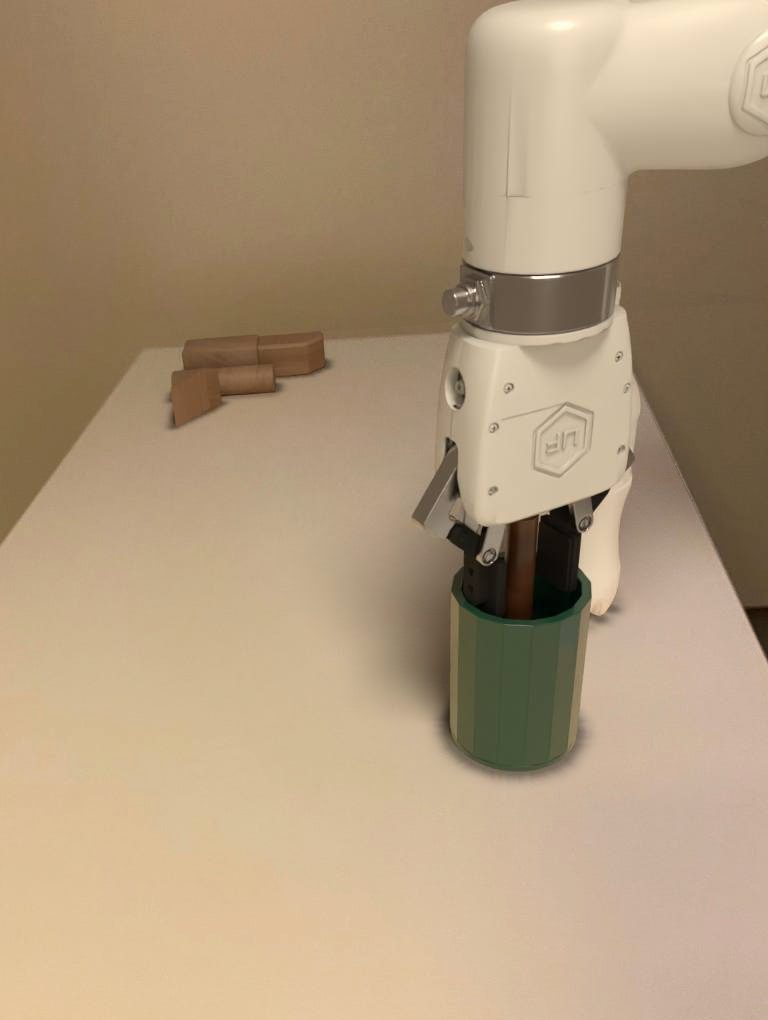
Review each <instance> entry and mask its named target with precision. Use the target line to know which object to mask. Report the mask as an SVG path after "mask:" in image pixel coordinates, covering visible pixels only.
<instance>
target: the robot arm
mask: <svg viewBox="0 0 768 1020" xmlns="http://www.w3.org/2000/svg"><path fill="white" fill-rule="evenodd" d="M462 149H463V150H462V151H463V153H462V154H463V157H462V160H463V161H462V162H463V165H462V231H461V232H462V236H461V237H462V240H461V241H462V245H461V248H462V249H461V264H460V265H459V283H458V284H456V285H455V287H452V288H449V289H446V290H444V291H443V293H442V296H441V306H442V309H443V312H444V314H445V315H446V317H447V318H449V319H453V318H456V317H459V318H460V321H459V322H457V323H455V324H453V325H452V326H451V329H450V333H449V337H448V341H447V346H446V350H445V356H444V360H443V366H442V372H441V378H440V380H441V381H440V385H439V394H438V403H437V413H436V428H435V443H434V444H435V445H434V447H435V448H434V472H435V473H434V476H433V477H432V479H431V480H430V483H429V485H428V486H427V487H426V489H425V491H424V493H423V495H422V497H421V498H420V500H419V502H418V504H417V505H416V507H415V509H414V511H413V513H412V515H411V522H412V524H413V525H415V526H416V527H417V528H418V529H420V530H421V531H423V532H424V533H425V534H427V535H429V536H432V537H434V538H436V539H439V540H442V541H446V542H449V543H451V544H452V545H454V546H455V547H456V548H458V549H460V550H461V551H462V552H463V563H462V564H463V566H462V567H463V591H464V595H465V597H466V599H467V600H468V601H469V602H470V603H471V604H473V605H475V606H476V607H477V608H478V609H479V610H481V611H482V612H484V613H487V614H490V615H494V616H497V617H500V618H502V617H503V615H504V614H505V595H506V573H507V565H506V562H505V561H504V560H503V559H501V558H500V557H499V556H498V555H499V552H501V551H500V550H501V547H502V543H503V539H504V535H505V532H506V524H510V523H513V522H516V521H519V520H522V519H525V518H529V517H532V516H535V515H538V514H541V513H544V512H547V511H549V515H548V514H545V515H542V516H540V522H539V525H538V540H537V555H536V572H537V574H538V575H539V576H541V577H542V578H544V579H545V580H546V581H548V582H549V583H550V584H552V585H553V586H554V587H556V588H557V589H558V590H560V591H561V592H563V593H565V594H569V593H571V592H574V591H576V587H577V577H578V567H579V557H580V547H581V537H582V533H584V532H587V531H588V530H589V529H590V528H591V526H592V525H593V522H594V518H593V512H594V511H595V510H596V508H597V507H598V506H599V505H600V503H601V502H602V501H603V500H604V498H605V497H606V496H607V494H608V493H609V491H610V488H611V487H613V486H614V485H615V484H617V483H618V482H619V481H620V480H621V479H622V477H623V475H624V473H625V472H626V471H627V470H628V469H629V468H630V467H631V465H632V466H633V464H634V462H635V460H636V457H635V453H634V452H632V451H631V449H630V447H629V443H630V431H631V414H632V373H633V357H632V356H633V354H632V344H631V335H630V327H629V322H628V315H627V311H626V309H625V308H624V307H623V306H621V305H620V304H619V305H617V304H615V299H616V290H617V281H619V280H618V278H619V268H620V259H621V249H622V241H623V230H624V222H625V211H626V203H627V202H626V201H627V193H628V183H629V176H630V175H631V174H633V173H634V172H638V171H647V170H648V171H649V170H650V171H651V170H689V171H692V170H695V171H700V170H701V171H712V170H727V169H732V168H733V169H734V168H738V167H741V166H745V165H749V164H752V163H755V162H758V161H761V160H762V159H765V158H767V157H768V0H513V1H509V2H506V3H502V4H498V5H495V6H493V7H491V8H489V9H487V10H485V11H483V12H482V13H481V14H480V15H479V16H478V17H477V19H475V21H474V22H473V24H472V26H471V27H470V29H469V32H468V34H467V37H466V41H465V48H464V65H463V148H462ZM458 499H461V505H460V510H459V514H458V518H456V517H455V516H453V515H451V511H452V509H453V507H454V505H455V503H456V502H457V501H458ZM480 526H481V530H480V534H479V533H478V532H479V528H480Z"/></svg>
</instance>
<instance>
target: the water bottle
mask: <svg viewBox="0 0 768 1020" xmlns="http://www.w3.org/2000/svg"><path fill="white" fill-rule="evenodd" d="M621 293H622V283H621V282H620V281H619V280H617V290H616V299H615V304H617V305H619V306H620V300H621ZM633 373H634V372H632V414H631V431H630V443H629V447H630V449H631V451H632V452H633V453H634V452H635V443H636V437H637V436H636V435H637V426H638V419H639V417H640V416H641V410H642V409H641V404H642V403H641V395H640V390H639V387H638V383H637V381H636V378H635V376H634V374H633ZM632 467H633V464H632V465H631V467H630V468H629V469H628V470H627V471H626V472H625V473H624V475H623V477H622V479H621V480H620V481H619V482H618V483H617V484H615V485H614V486H613V487H611V488H610V491H609V493H608V494H607V496H606V497H605V498H604V500H603V501H602V502H601V503H600V505H599V506H598V507H597V508H596V510H595V511H594V512H593V518H594V522H593V525H592V526H591V528H590V529H589V530H588V531H587V532H584V533H582V537H581V547H580V557H579V568H580V569H581V570H582V571H583V573H584V574H585V575H586V576H587V578H588V579H589V580H590V581H591V589H592V600H591V609H590V614H592V615H595V616H597V617H600V616H602V615H604V614H605V613H606V612H607V611H608V610H609V608H610V607H611V605H612V604H613V602H614V600H615V597H616V595H617V593H618V592H617V591H618V588H619V584H620V579H621V570H622V564H621V560H620V559H621V558H620V549H619V536H620V535H619V534H620V526H621V525H620V524H621V519H622V514H623V510H624V506H625V503H626V500H627V497H628V494H629V492H630V489H631V487H632V483H633V472H632ZM545 514H548V515H549V511H547V512H544V513H541V514H539V520H538V525H539V522H540V516H542V515H545ZM537 540H538V535H537ZM536 552H537V550H536Z"/></svg>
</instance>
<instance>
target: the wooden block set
mask: <svg viewBox="0 0 768 1020" xmlns="http://www.w3.org/2000/svg"><path fill="white" fill-rule="evenodd" d="M324 339H325V338H324V333H323V332H322V331H309V332H308V331H307V332H294V333H281V334H269V335H268V334H267V335H259V334H245V335H231V336H219V337H217V336H216V337H206V338H204V337H203V338H192V339H187V340H185V342H184V346H183V349H182V352H181V356H182V357H181V359H182V364H183V370H174V371H172V373H171V378H170V379H171V387H170V397H171V404H172V411H173V416H174V422H175V427H178V426H181V425H182V424H183V425H184V424H185V423H188V422H189V421H191V420H193V419H196V418H198V417H200V416H201V415H203V414H206V413H208V412H210V411H212V410H214V409H216V408H218V407H219V406H221V405H222V404H223V403H222V397H223V396H234V395H248V394H261V393H263V394H264V393H274V392H275V391H276V390H277V389H276V388H277V381H276V379H277V378H278V377H280V378H281V377H290V376H303V375H309V374H311V373H313V372H316V371H318V370H321V369H322V368H324V367H325V366H326V355H325V340H324Z"/></svg>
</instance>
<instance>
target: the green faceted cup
mask: <svg viewBox="0 0 768 1020" xmlns="http://www.w3.org/2000/svg"><path fill="white" fill-rule="evenodd" d="M536 555H537V552H536ZM498 556H499V557H500V558H501V559H503V560H504V561H505V550H504V551H503V550H502V551H499V555H498ZM591 600H592V589H591V581H590V580H589V579H588V578H587V576H586V575H585V574H584V573H583V571H582V570H581V569H580V568H579V567H578V577H577V587H576V591H574V592H571V593H569V594H565V593H563V592H561V591H560V590H558V589H557V588H556V587H554V586H553V585H552V584H550V583H549V582H548V581H546V580H545V579H544V578H542V577H541V576H539V575H538V574H537V572H536V565H535V580H534V594H533V609H532V620H515V619H504V618H500V617H497V616H494V615H490V614H487V613H484V612H482V611H481V610H479V609H478V608H477V607H476V606H475V605H473V604H471V603H470V602H469V601H468V600H467V599H466V597H465V595H464V591H463V566H462V567H461V568H460V569H458V571H457V572H456V573H454V575H453V576H452V582H451V588H450V643H449V644H450V652H449V653H450V654H449V655H450V656H449V658H450V659H449V661H450V663H449V667H450V668H449V729H450V735H451V738H452V740H453V742H454V744H455V746H456V747H457V748H458V749H459V751H461V752H462V753H463V755H465V756H466V757H468V758H469V759H471V760H472V761H474V762H476V763H477V764H480V765H482V766H484V767H487V768H491V769H494V770H498V771H503V772H513V773H515V772H517V773H520V772H521V773H522V772H532V771H537V770H541V769H545V768H548V767H550V766H552V765H554V764H557V763H559V762H560V761H561V760H563V759H564V758H565V757H566V756H567V755H569V753H570V752H571V751H572V749H573V747H574V745H575V742H576V739H577V735H578V726H579V720H580V719H579V718H580V708H581V701H582V690H583V681H584V671H585V663H586V654H587V644H588V638H589V637H588V635H589V625H590V619H591V613H590V609H591Z"/></svg>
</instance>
